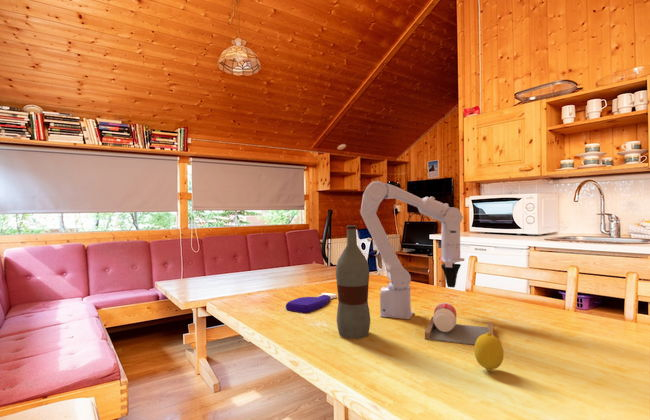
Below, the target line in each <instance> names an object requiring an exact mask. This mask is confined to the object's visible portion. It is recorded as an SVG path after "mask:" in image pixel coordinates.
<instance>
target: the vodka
mask: <svg viewBox="0 0 650 420" xmlns="http://www.w3.org/2000/svg"><path fill="white" fill-rule="evenodd" d="M357 237H358V236H357V225H352V224H351V225H349V224H348V225H346V246H345V248H344V249H343V251H342V253H341V254H340V255H339V258H338V260H337V261H336V269H335V279H336V286H337V287H336V289H337V300H338V301H337V303H338V304H337V311H336V312H337V313H336V326H337V332H338V334H339V336H340V337H342V338H344V339H350V340H359V339H364V338H367V337H368V336H369V331H370V326H371V316H370V315H371V314H370V313H371V312H370V308H369V302H368V299H369V284H370V283H369V282H370V281H369V280H370V268H369V263H368V259H366V257H365V255H364V254H363V252H362V250H361V248H360V247H359V245H357V244H358V241H357Z"/></svg>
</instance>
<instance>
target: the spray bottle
mask: <svg viewBox="0 0 650 420" xmlns="http://www.w3.org/2000/svg"><path fill="white" fill-rule="evenodd" d="M331 299H338V294H336V293H330V292H321V294H320V295H317V296H304V297H303V296H302V297H298V298H294V299H292V300H289V301H288V302H286V304H285V309H286V311H289V312H295V313H296V312H297V313H301V314H308V313H311V312H314V311H317V310H319V309H321V308H324V307H325V306H327V304H328V303H329V301H330V300H331Z"/></svg>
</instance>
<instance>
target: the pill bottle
mask: <svg viewBox="0 0 650 420" xmlns="http://www.w3.org/2000/svg"><path fill="white" fill-rule="evenodd" d="M432 317H433V322H434V325H435V326H436V327H437V328H438V329H439V330H440V331H442V332H448V331H450V330H452V329H453V328H454V327H455V325H456V324H457V310H456V308H455V307H454V306H453V304H451V303H449V302H441V303H438V304H437V305H436V306H435V308H434V311H433V315H432Z"/></svg>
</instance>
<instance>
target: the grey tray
mask: <svg viewBox="0 0 650 420" xmlns="http://www.w3.org/2000/svg"><path fill="white" fill-rule="evenodd" d="M493 327H494V326H493V322H492V321H487V326H480V325H479V326H478V325H470V324H469V325H468V324H460V323H459V324H458V323H456V325H455V327H454V328H453V329H452V330H450V331H448V332H442V331H440V330H439V329H438V328H437V327H436V326H435V325H434V322H433V316H431V318H430V320H429V322H428V324H427V327H426V329H425V330H424V340H429V341H438V342H444V343H445V342H446V343H452V344H453V343H454V344H463V345H470V346H475V343H476V340H477V338H478V337H479V336H481V335H483V334H486V333H490V334H491V335H494V330H493V329H494V328H493Z"/></svg>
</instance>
